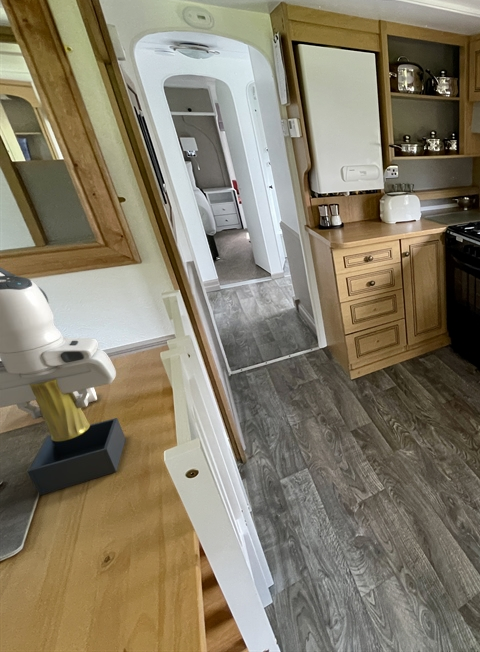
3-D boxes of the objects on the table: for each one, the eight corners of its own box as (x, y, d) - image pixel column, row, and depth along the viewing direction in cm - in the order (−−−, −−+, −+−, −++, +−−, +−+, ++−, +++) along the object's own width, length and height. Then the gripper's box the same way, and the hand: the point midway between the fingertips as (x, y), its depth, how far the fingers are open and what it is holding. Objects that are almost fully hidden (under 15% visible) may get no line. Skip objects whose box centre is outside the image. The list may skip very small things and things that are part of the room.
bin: (39, 495, 78) (26, 471, 76) (58, 457, 88) (47, 435, 85) (116, 471, 85) (106, 449, 82) (125, 439, 94) (117, 417, 92)
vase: (45, 445, 79) (16, 388, 74) (60, 426, 84) (34, 372, 79) (82, 437, 81) (57, 381, 76) (95, 420, 87) (72, 366, 81)
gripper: (-52, 377, 68) (-17, 437, 73) (99, 349, 78) (120, 404, 83) (-35, 361, 73) (-3, 419, 78) (105, 337, 83) (125, 389, 88)
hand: (62, 411), depth 81 cm, fingers closed on vase, 5 cm apart
